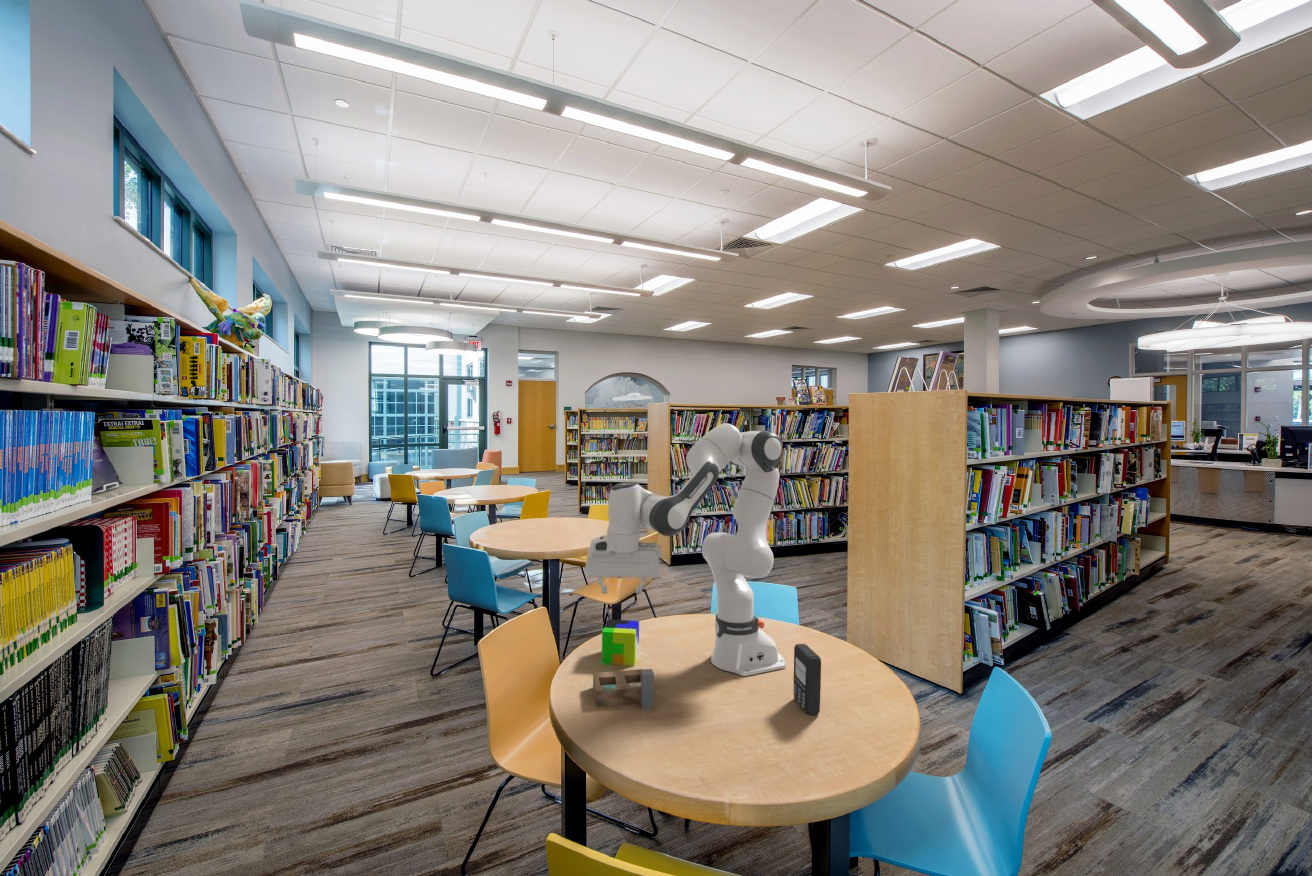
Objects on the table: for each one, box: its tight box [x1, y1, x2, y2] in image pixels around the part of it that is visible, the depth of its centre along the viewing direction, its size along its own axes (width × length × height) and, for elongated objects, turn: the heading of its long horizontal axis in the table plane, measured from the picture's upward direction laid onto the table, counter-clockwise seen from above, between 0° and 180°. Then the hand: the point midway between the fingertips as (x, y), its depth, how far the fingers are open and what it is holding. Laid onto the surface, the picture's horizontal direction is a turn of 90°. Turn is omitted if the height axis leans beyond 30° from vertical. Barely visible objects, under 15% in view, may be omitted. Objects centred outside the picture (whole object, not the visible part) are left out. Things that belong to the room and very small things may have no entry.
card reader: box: [793, 643, 822, 716], centre depth 138 cm, size 9×4×15 cm, turn 10°
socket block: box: [592, 668, 644, 708], centre depth 144 cm, size 14×10×4 cm
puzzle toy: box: [601, 619, 640, 667], centre depth 166 cm, size 10×10×10 cm
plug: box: [639, 668, 655, 711], centre depth 138 cm, size 3×3×9 cm
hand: (621, 592), depth 144 cm, fingers open, 8 cm apart
